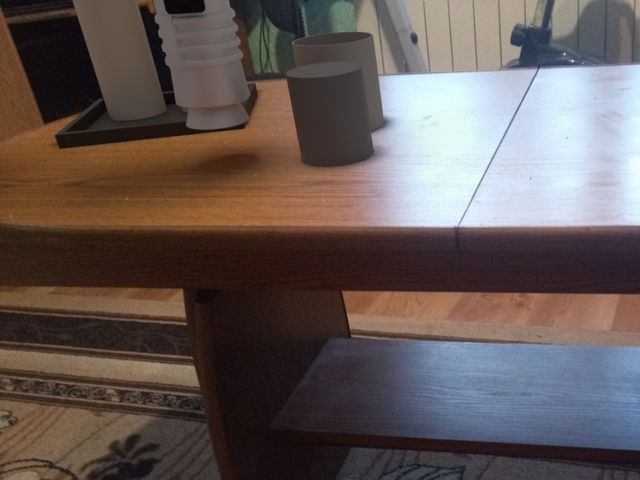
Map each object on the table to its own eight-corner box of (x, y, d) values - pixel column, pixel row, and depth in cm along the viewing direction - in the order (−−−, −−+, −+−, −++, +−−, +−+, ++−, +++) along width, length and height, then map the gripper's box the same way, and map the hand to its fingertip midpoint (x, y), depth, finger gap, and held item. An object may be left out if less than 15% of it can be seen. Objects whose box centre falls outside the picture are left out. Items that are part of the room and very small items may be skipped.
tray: (60, 153, 83) (54, 135, 82) (103, 114, 99) (98, 98, 98) (245, 133, 85) (241, 115, 84) (258, 98, 101) (255, 82, 100)
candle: (164, 126, 69) (118, -55, 61) (219, 109, 74) (183, -61, 66) (216, 134, 66) (174, -56, 58) (269, 115, 71) (238, -62, 63)
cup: (324, 151, 77) (307, 49, 71) (299, 135, 83) (281, 40, 78) (397, 135, 80) (385, 36, 75) (367, 120, 86) (355, 29, 81)
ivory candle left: (103, 123, 92) (60, -10, 84) (117, 110, 97) (78, -15, 90) (161, 117, 92) (124, -15, 84) (171, 105, 98) (137, -20, 90)
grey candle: (302, 180, 69) (283, 80, 64) (304, 159, 75) (287, 66, 70) (377, 172, 69) (363, 72, 65) (373, 151, 75) (360, 58, 71)
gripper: (113, -232, 62) (167, 0, 72) (47, -274, 48) (126, 24, 57) (203, -235, 63) (245, -5, 73) (166, -277, 49) (224, 18, 58)
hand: (192, 6), depth 65 cm, fingers closed on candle, 6 cm apart
